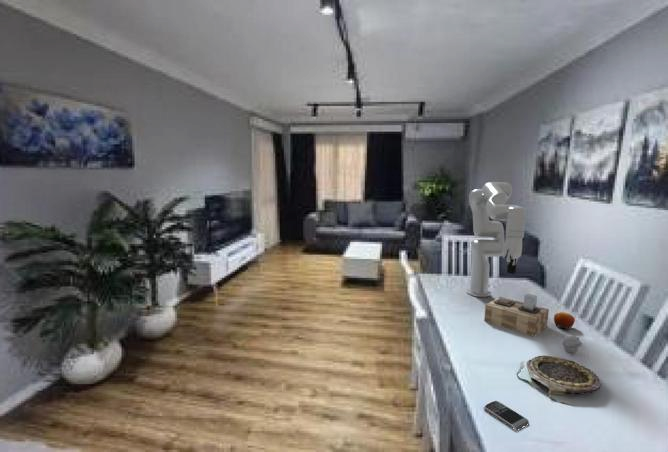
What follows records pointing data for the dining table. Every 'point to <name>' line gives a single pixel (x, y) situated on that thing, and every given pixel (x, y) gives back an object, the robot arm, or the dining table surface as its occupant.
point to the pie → (561, 376)
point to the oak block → (516, 316)
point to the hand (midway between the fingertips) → (511, 272)
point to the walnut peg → (504, 301)
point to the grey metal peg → (530, 302)
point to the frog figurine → (571, 343)
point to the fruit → (564, 320)
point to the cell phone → (506, 415)
